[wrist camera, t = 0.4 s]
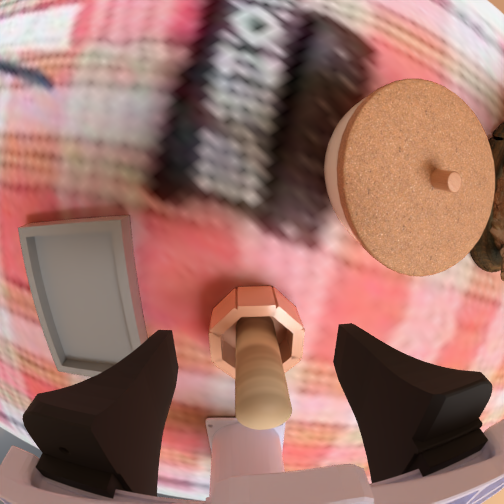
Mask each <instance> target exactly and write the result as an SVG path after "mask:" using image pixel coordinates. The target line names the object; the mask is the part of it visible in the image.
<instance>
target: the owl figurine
mask: <svg viewBox="0 0 504 504" xmlns="http://www.w3.org/2000/svg"><path fill="white" fill-rule="evenodd" d="M493 135H494V136H496V137H503V139H504V123H502V124H501V125H500V126H499V127H498V129H497V130H495V131H494V133H493ZM489 144H490V148H491V151H492V156H493V160H494V169H495V193H494V200H493V205H492V209H491V213H490V217H489V219H488V222H487V224H486V227H485V229H484V231H483V233H482V235H481V237H480V239H479V240H478V241H477V243H476V244H475V246H474V247H473V248H472V250H471V251H470V252H471V256H472V258H473V260H474V261H475V263H476V264H477V265H478V266H479V267H480V268H481V269H482V270H485V271H487V272H497V271H500V270H501V279H502V280H503V281H504V140H495V139H494V138H491V139H490V140H489Z"/></svg>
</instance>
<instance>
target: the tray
mask: <svg viewBox="0 0 504 504" xmlns="http://www.w3.org/2000/svg"><path fill="white" fill-rule="evenodd" d="M18 231H19V237H20V243H21V249H22V254H23V259H24V264H25V268H26V273H27V277H28V281H29V285H30V289H31V293H32V297H33V300H34V304H35V307H36V311H37V314H38V317H39V320H40V324H41V327H42V330H43V333H44V336H45V338H46V341H47V344H48V347H49V349H50V352H51V355H52V357H53V360H54V362H55V365H56V367H57V370H58V371H60V372H66V373H71V374H77V375H83V376H90V377H94V376H96V375H98V374H100V373H102V372H103V371H105V370H107V369H109V368H110V367H112V366H113V365H115V364H117V363H118V362H119V361H121V360H122V359H123V358H125V357H126V356H127V355H129V354H130V353H132V352H133V351H134V350H135V349H136V348H138V347H139V346H140V345H141V344H142V343H144V342H145V341H146V340H147V339H148V337H147V332H146V327H145V322H144V316H143V311H142V305H141V299H140V293H139V287H138V281H137V274H136V267H135V259H134V251H133V243H132V234H131V224H130V215H121V216H106V217H93V218H80V219H68V220H57V221H46V222H36V223H29V224H27V225H24V226H22V227H19V228H18Z"/></svg>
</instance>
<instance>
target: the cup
mask: <svg viewBox="0 0 504 504" xmlns="http://www.w3.org/2000/svg"><path fill="white" fill-rule="evenodd" d="M259 316H270V317H271V319H272V320H273V322H274V326H275V331H276V336H277V341H278V345H279V350H280V355H281V359H282V364H283V369H284V373H286V372H287V371H288V370H289V369H291V368H292V367H293V366H294V365H296V364H297V363H298V362H300V361H301V360H300V358H302V354H303V343H304V332H305V330H304V327H303V324H302V322H301V319H300V316H299V314H298V311H297V309H296V306H294V305H293V304H292V303H291V302H290V301H289V300H288V299H287V298H286V297H284V296H283V295H282V294H281V293H280V292H279V291H278V290H277V289H276V288H274V287H273V288H271V286H250V287H238V290H237V289H236V288H234V289H233V290H232V291H231V292H230V293H229V294H228V295H227V296H226V297H225V298H224V299H223V300H222V301H221V302H220V303H219V304H218V305H217V306H216V307H215V308H214V309H213V311H212V314H211V321H210V327H209V333H208V334H209V344H210V354H211V362H213V364H214V365H215V366H216V367H218V368H219V369H221V370H222V371H224V372H225V373H227V374H228V375H229V376H231V377H232V378H234V379H235V351H236V324H237V321H238V320H239V319H240V318H241V317H259Z"/></svg>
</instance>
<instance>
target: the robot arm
mask: <svg viewBox="0 0 504 504" xmlns="http://www.w3.org/2000/svg"><path fill="white" fill-rule="evenodd" d="M333 362H334V366H335V370H336V373H337V376H338V380H339V382H340V384H341V386H342V389H343V391H344V393H345V395H346V397H347V400H348V402H349V404H350V406H351V408H352V410H353V413H354V415H355V417H356V420H357V423H358V426H359V429H360V432H361V436H362V439H363V443H364V447H365V451H366V455H367V460H368V464H369V469H370V474H371V480H372V484H369V482H368V479H367V477H366V474H365V471H364V469H363V468H361V467H358V466H356V465H353V464H344V465H332V466H326V467H320V468H313V469H306V470H298V471H288V472H285V470H284V463H283V456H282V449H283V441H284V431H285V423H283V424H282V425H280V426H278V427H275V428H271V429H266V430H256V429H251V428H248V427H246V426H244V425H242V424H241V423H240V422H239V421H238V420H237V418H207V419H206V422H205V423H206V428H207V434H208V439H209V444H210V449H211V454H212V459H211V476H210V495H209V497H207V498H206V501H194V500H182V499H172V498H163V497H157V481H158V467H159V457H160V449H161V442H162V435H163V430H164V425H165V422H166V418H167V415H168V411H169V408H170V404H171V401H172V398H173V394H174V391H175V387H176V381H177V374H178V363H177V357H176V352H175V346H174V340H173V334H172V330H158V331H157V332H155V333H154V334H153V335H152V336H151V337H149V338H148V339H147V340H146V341H145V342H144V343H142V344H141V345H140V346H139V347H138V348H136V349H135V350H134V351H133V352H132V353H130V354H129V355H127V356H126V357H125V358H123V359H122V360H121V361H119V362H118V363H117V364H115V365H113V366H112V367H110V368H109V369H107V370H105V371H103V372H102V373H100V374H98V375H96V376H94V377H91V378H89V379H87V380H85V381H83V382H80V383H77V384H75V385H72V386H69V387H66V388H62V389H59V390H54V391H50V392H45V393H39V394H37V396H36V397H35V398H34V400H33V401H32V403H31V404H30V406H29V407H28V408H27V410H26V411H25V413H24V414H23V422H24V426H25V428H26V430H27V431H28V433H29V435H30V436H31V437H32V439H33V440H34V442H35V443H36V445H37V446H38V447H39V449H40V450H41V451H42V455H41V457H40V459H39V458H38V457H37V456H35V455H34V454H32V453H30V452H27V451H25V450H23V449H20V448H18V447H16V446H11V448H10V450H9V451H8V453H7V455H6V456H5V458H4V460H3V462H2V463H1V465H0V500H1V501H2V502H3V503H5V504H481V503H483V502H484V501H486V500H487V499H489V498H490V497H492V496H493V495H495V494H496V493H497V492H499V491H500V490H502V488H504V419H503V420H501V421H500V422H498V423H496V424H494V425H493V426H491V427H489V428H488V429H487V430H486V431H485V432H484V433H483V432H482V431H481V429H480V427H481V426H482V422H481V421H480V419H479V417H480V415H481V413H482V412H483V410H484V408H485V406H486V405H487V403H488V401H489V399H490V396H491V393H492V384H491V383H490V382H489V380H488V379H487V378H486V377H485V376H484V375H483V374H482V373H481V372H475V371H463V370H456V369H450V368H445V367H441V366H437V365H434V364H430V363H427V362H424V361H421V360H418V359H416V358H413V357H411V356H409V355H406V354H404V353H402V352H400V351H398V350H396V349H394V348H392V347H390V346H389V345H387V344H385V343H383V342H382V341H380V340H378V339H377V338H375V337H374V336H372V335H370V334H369V333H367V332H366V331H364V330H362V329H361V328H359V327H358V326H356V325H354V324H352V323H350V324H340V325H339V327H338V334H337V341H336V348H335V355H334V361H333ZM210 424H211V425H210Z"/></svg>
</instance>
